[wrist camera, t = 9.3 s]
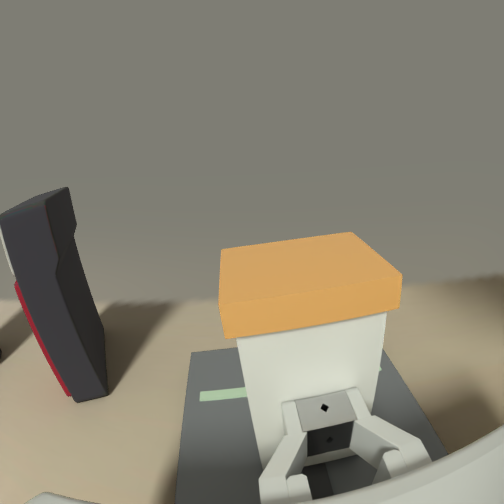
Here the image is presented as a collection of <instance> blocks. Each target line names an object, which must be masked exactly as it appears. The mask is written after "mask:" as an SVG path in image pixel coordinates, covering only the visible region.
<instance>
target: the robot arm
mask: <svg viewBox="0 0 504 504" xmlns="http://www.w3.org/2000/svg"><path fill="white" fill-rule="evenodd" d="M281 408H282V419H283V427H284V433H285V436H284V437H283V438H282V440H281V442H280V444H279V446H278V447H277V449H276V451H275V453H274V454H273V456H272V458H271V459H270V461H269V463H268V464H267V466H266V468H265V470H264V471H263V473H262V474H261V476H260V478H259V479H258V480H259V490H260V499H261V504H504V424H503V425H502V426H500V427H498V428H497V429H495V430H494V431H492V432H490V433H488V434H487V435H485V436H483V437H482V438H480V439H478V440H476V441H474V442H473V443H471V444H469V445H467V446H465V447H463V448H461V449H459V450H457V451H455V452H453V453H451V454H449V455H447V456H445V457H443V458H441V459H438V460H436V461H434V462H432V460H431V458H430V456H429V455H428V453H427V451H426V449H425V447H424V445H423V444H422V442H421V440H420V439H419V438H417V437H415V436H413V435H411V434H409V433H407V432H405V431H403V430H401V429H400V428H398V427H396V426H394V425H392V424H390V423H388V422H387V421H385V420H383V419H381V418H379V417H377V416H376V415H374V416H371V414H370V412H369V410H368V407H367V405H366V403H365V401H364V399H363V397H362V395H361V393H360V391H359V389H358V388H357V387H356V388H352V389H348V390H343V391H339V392H335V393H330V394H326V395H321V396H318V397H313V398H307V399H301V400H295V401H289V402H282V403H281ZM349 447H350V449H351V450H352V451H354V452H355V453H356V454H357V455H359V456H360V457H361V458H363V459H364V460H365V461H367V462H368V463H369V464H371V465H372V466H373V467H375V468H376V469H377V473H376V475H375V477H374V480H373V482H372V485H370V486H367V487H363V488H360V489H356V490H353V491H349V492H345V493H341V494H337V495H333V496H329V497H325V498H320V499H315V500H312V496H311V492H310V488H309V484H308V480H307V476H306V475H303V474H301V472H302V469H303V467H304V465H305V462H306V460H307V457H310V456H314V455H318V454H323V453H327V452H331V451H336V450H340V449H345V448H349ZM24 504H99V503H94V502H88V501H83V500H79V499H74V498H70V497H66V496H62V495H58V494H54V493H50V492H43V493H41V494H39V495H37V496H35V497H33V498H32V499H30V500H29V501H27V502H26V503H24Z"/></svg>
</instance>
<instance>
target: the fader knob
mask: <svg viewBox="0 0 504 504" xmlns="http://www.w3.org/2000/svg"><path fill="white" fill-rule="evenodd" d="M401 286H402V274H401V273H400V272H399V271H397V270H396V269H395V268H394V267H393V266H392V265H390V264H389V263H388V262H387V261H386V260H385V259H384V258H382V257H381V256H380V255H379V254H378V253H376V252H375V251H374V250H373V249H372V248H370V247H369V246H368V245H367V244H366V243H364V242H363V241H362V240H361V239H360V238H358V237H357V236H356V235H355V234H353V233H352V232H345V233H338V234H331V235H323V236H315V237H308V238H301V239H293V240H286V241H278V242H271V243H264V244H257V245H249V246H243V247H235V248H228V249H222V250H221V264H220V282H219V303H218V305H219V310H220V315H221V320H222V325H223V330H224V335H225V339H229V338H236V340H237V345H238V351H239V356H240V361H241V367H242V372H243V377H244V382H245V387H246V392H247V397H248V402H249V407H250V412H251V417H252V422H253V427H254V431H255V436H256V441H257V446H258V450H259V455H260V459H261V464H262V469H263V471H264V470H265V468H266V466H267V464H268V463H269V461H270V459H271V458H272V456H273V454H274V453H275V451H276V449H277V447H278V446H279V444H280V442H281V440H282V438H283V437H284V436H285V433H284V427H283V419H282V408H281V403H282V402H289V401H295V400H301V399H307V398H313V397H318V396H321V395H326V394H330V393H335V392H339V391H343V390H348V389H352V388H356V387H357V388H358V389H359V391H360V393H361V395H362V397H363V399H364V401H365V403H366V405H367V407H368V410H369V412H370V414H371V411H372V406H373V401H374V396H375V391H376V385H377V379H378V374H379V368H380V361H381V355H382V348H383V340H384V332H385V324H386V315H387V311H389V310H394V309H398V308H399V305H400V296H401ZM353 455H356V453H355V452H354V451H352V450H351V449H350V447H349V448H345V449H340V450H336V451H331V452H327V453H323V454H318V455H314V456H310V457H307V460H306V462H305V465H304V466H309V465H314V464H319V463H324V462H328V461H332V460H337V459H341V458H345V457H349V456H353Z"/></svg>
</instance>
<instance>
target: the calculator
mask: <svg viewBox="0 0 504 504" xmlns="http://www.w3.org/2000/svg"><path fill="white" fill-rule="evenodd" d="M76 225H77V223H76V219H75V215H74V211H73V206H72V201H71V197H70V192H69V188H68V187H64V188H60V189H57V190H54V191H50V192H47V193H44V194H41V195H38V196H35V197H33V198H31V199H29V200H27V201H25V202H23V203H21V204H19V205H17V206H15V207H13V208H11V209H9V210H7V211H5V212H4V213H2V214H1V215H0V236H1V240H2V243H3V247H4V250H5V253H6V257H7V259H8V263H9V266H10V269H11V272H12V274H13V276H15V277H16V282H15V284H14V286H15V290H16V292H17V295H18V298H19V300H20V303H21V305H22V308H23V310H24V313H25V315H26V317H27V320H28V322H29V324H30V326H31V329H32V331H33V333H34V335H35V337H36V339H37V341H38V343H39V345H40V348H41V350H42V352H43V353H44V355H45V357H46V359H47V361H48V363H49V365H50V367H51V369H52V371H53V372H54V374H55V376H56V378H57V380H58V381H59V383H60V385H61V386H62V388H63V390H64V392H65V393H66V395H67V396H68V397H69V396H72V397H73V399H74V401H75V402H77V403H78V402H83V401H87V400H91V399H95V398H99V397H103V396H107V395H108V384H107V373H106V360H105V344H104V328H103V325H102V323H101V320H100V317H99V315H98V312H97V309H96V306H95V304H94V301H93V298H92V295H91V292H90V289H89V286H88V283H87V280H86V277H85V274H84V270H83V267H82V264H81V261H80V257H79V254H78V250H77V247H76V243H75V239H74V233H75V229H76Z"/></svg>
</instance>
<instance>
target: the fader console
mask: <svg viewBox="0 0 504 504" xmlns="http://www.w3.org/2000/svg"><path fill="white" fill-rule="evenodd" d="M374 415H376V416H377V417H379V418H381V419H383V420H385V421H387V422H388V423H390V424H392V425H394V426H396V427H398V428H400V429H401V430H403V431H405V432H407V433H409V434H411V435H413V436H415V437H417V438H419V439H420V440H421V442H422V444H423V445H424V447H425V449H426V451H427V453H428V455H429V456H430V458H431V460H432V462H434V461H436V460H438V459H441V458H443V457H445V456H447V455H449V454H448V453H447V451H446V449H445V447H444V446H443V444H442V442H441V441H440V439H439V437H438V436H437V434H436V432H435V431H434V429H433V427H432V426H431V424H430V422H429V421H428V419H427V417H426V416H425V414H424V412H423V411H422V409H421V408H420V406H419V404H418V403H417V401H416V400H415V398H414V396H413V395H412V393H411V392H410V390H409V388H408V387H407V385H406V384H405V382H404V381H403V379H402V377H401V376H400V374H399V373H398V371H397V370H396V368H395V367H394V365H393V364H392V362H391V361H390V359H389V357H388V356H387V354H386V353H385V351H384V350H383V348H382V355H381V361H380V368H379V374H378V379H377V385H376V391H375V396H374V401H373V406H372V411H371V416H374ZM262 473H263V469H262V464H261V459H260V455H259V450H258V446H257V441H256V436H255V431H254V427H253V422H252V417H251V412H250V407H249V402H248V397H247V392H246V387H245V382H244V377H243V372H242V367H241V361H240V356H239V351H238V347H237V348H229V349H220V350H212V351H202V352H192V353H191V359H190V367H189V374H188V382H187V390H186V398H185V406H184V414H183V423H182V432H181V441H180V451H179V461H178V471H177V482H176V494H175V504H261V499H260V490H259V480H258V479H259V478H260V476H261V474H262ZM376 473H377V469H376V468H375V467H373V466H372V465H371V464H369V463H368V462H367V461H365V460H364V459H363V458H361V457H360V456H359V455H357V454H356V455H353V456H349V457H345V458H341V459H337V460H332V461H328V462H324V463H319V464H314V465H309V466H304V467H303V469H302V472H301V474H303V475H306V476H307V480H308V484H309V488H310V492H311V496H312V500H315V499H320V498H325V497H329V496H333V495H337V494H341V493H345V492H349V491H353V490H356V489H360V488H363V487H367V486H370V485H372V482H373V480H374V477H375V475H376Z"/></svg>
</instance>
